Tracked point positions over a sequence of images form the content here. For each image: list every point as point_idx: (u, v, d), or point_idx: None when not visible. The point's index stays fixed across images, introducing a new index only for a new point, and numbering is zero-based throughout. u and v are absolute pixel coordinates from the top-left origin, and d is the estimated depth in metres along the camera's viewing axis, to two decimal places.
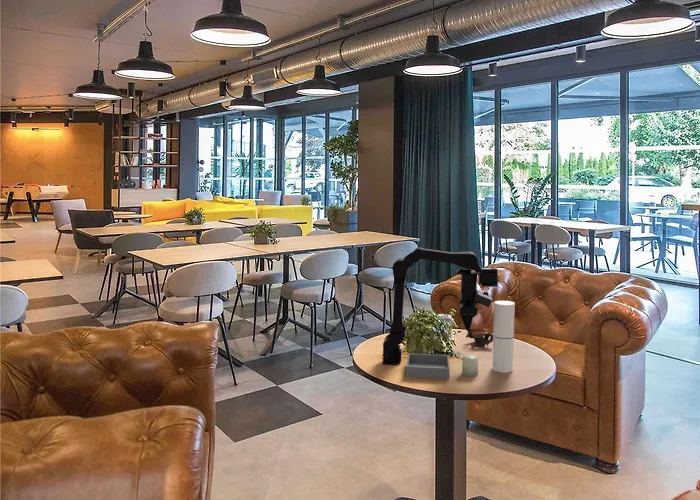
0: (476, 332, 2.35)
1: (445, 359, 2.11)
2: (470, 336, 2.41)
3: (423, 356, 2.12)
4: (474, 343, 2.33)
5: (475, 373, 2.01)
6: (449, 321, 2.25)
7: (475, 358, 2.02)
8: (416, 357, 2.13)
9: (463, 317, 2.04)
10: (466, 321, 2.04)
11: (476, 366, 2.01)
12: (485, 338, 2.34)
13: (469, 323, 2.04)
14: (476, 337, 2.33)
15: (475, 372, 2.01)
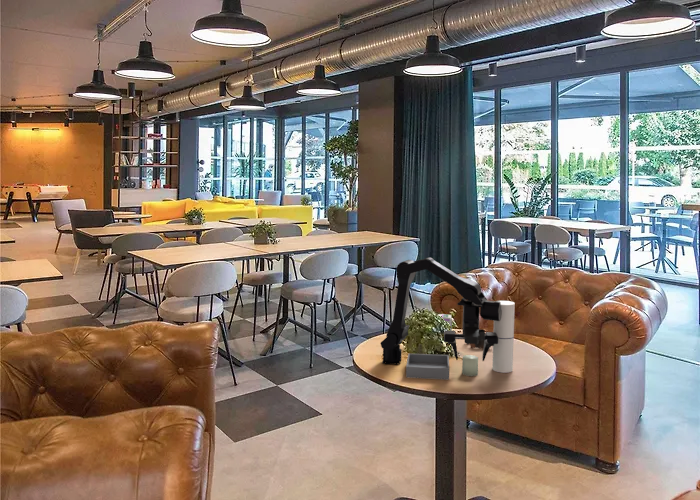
0: None
1: (445, 359, 2.11)
2: None
3: (423, 356, 2.12)
4: None
5: (475, 373, 2.01)
6: (449, 321, 2.25)
7: (475, 358, 2.02)
8: (416, 357, 2.13)
9: None
10: None
11: (476, 366, 2.01)
12: None
13: (454, 351, 2.03)
14: None
15: (475, 372, 2.01)
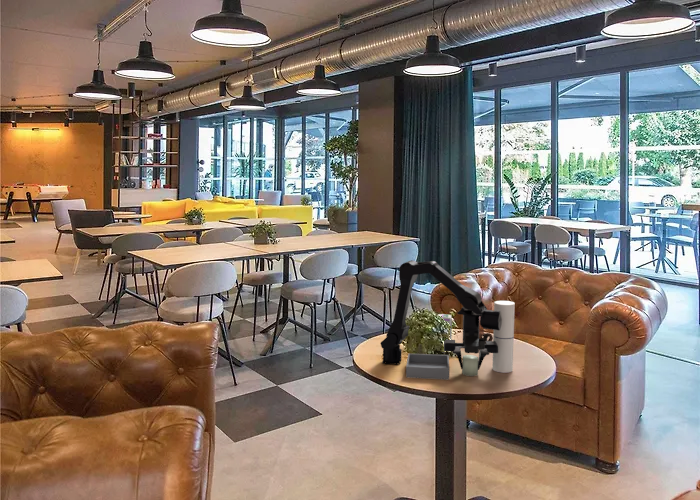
0: None
1: (445, 359, 2.11)
2: None
3: (423, 356, 2.12)
4: None
5: (475, 373, 2.01)
6: (449, 321, 2.25)
7: (475, 358, 2.02)
8: (416, 357, 2.13)
9: None
10: None
11: (476, 366, 2.01)
12: (484, 338, 2.33)
13: None
14: None
15: (475, 371, 2.01)
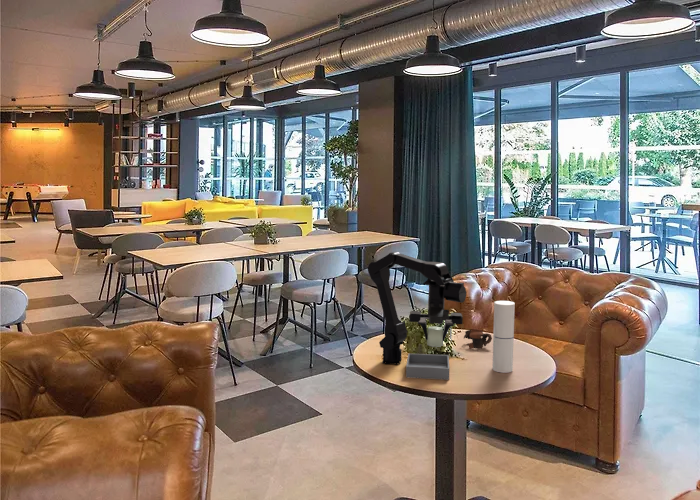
0: (474, 332, 2.34)
1: (445, 359, 2.11)
2: (468, 337, 2.40)
3: (423, 356, 2.12)
4: (472, 344, 2.32)
5: (439, 344, 2.02)
6: None
7: (440, 329, 2.02)
8: (416, 357, 2.13)
9: None
10: None
11: (441, 337, 2.02)
12: (483, 339, 2.33)
13: (424, 332, 2.04)
14: (474, 338, 2.32)
15: (440, 342, 2.02)
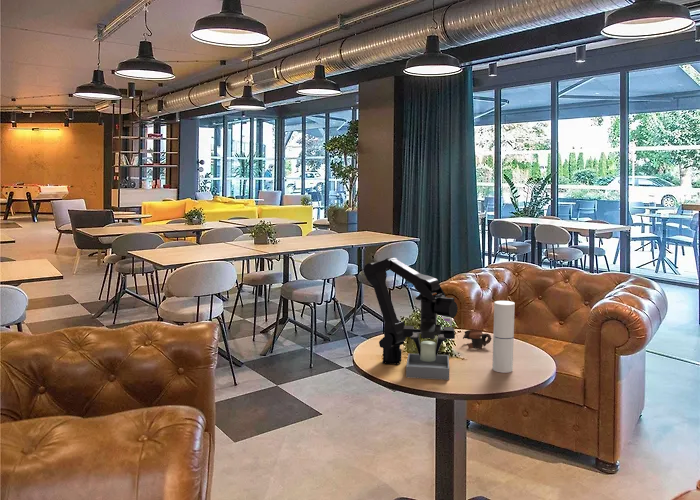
0: (474, 332, 2.34)
1: (445, 359, 2.11)
2: (467, 337, 2.40)
3: None
4: (471, 344, 2.32)
5: (432, 358, 2.03)
6: (449, 321, 2.25)
7: (433, 344, 2.03)
8: (416, 357, 2.13)
9: None
10: None
11: (434, 352, 2.03)
12: (482, 339, 2.33)
13: None
14: (473, 338, 2.32)
15: (432, 357, 2.03)
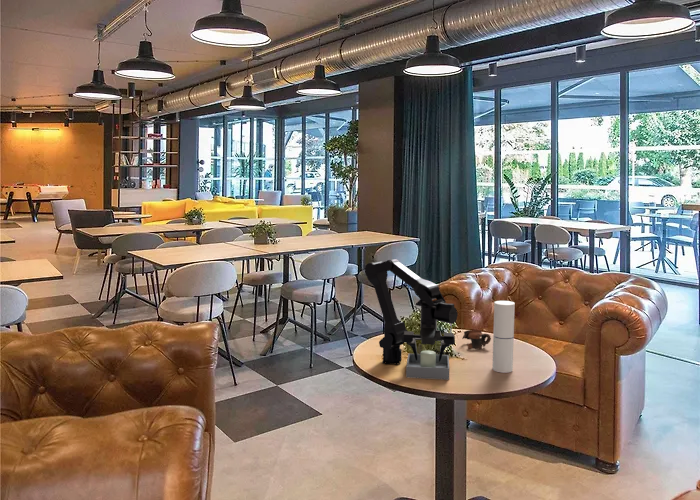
0: (473, 333, 2.33)
1: (445, 359, 2.11)
2: (466, 337, 2.39)
3: None
4: (471, 344, 2.31)
5: None
6: None
7: (432, 353, 2.04)
8: None
9: None
10: None
11: (434, 361, 2.03)
12: (482, 339, 2.32)
13: None
14: (473, 338, 2.32)
15: None
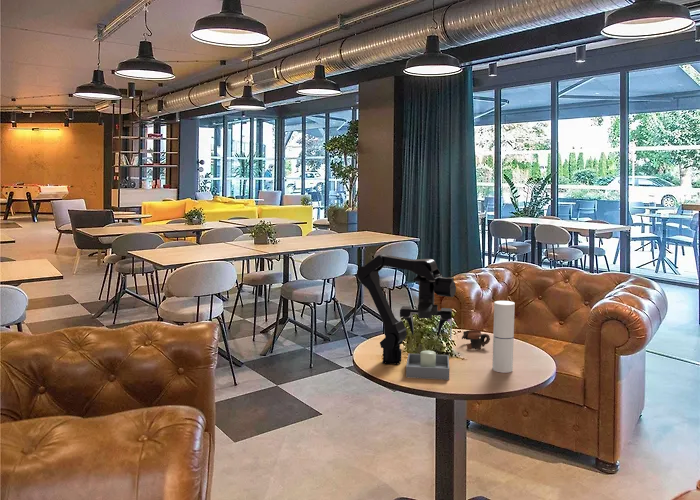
0: (472, 333, 2.33)
1: (445, 359, 2.11)
2: (466, 337, 2.39)
3: None
4: (470, 344, 2.31)
5: None
6: (449, 321, 2.25)
7: (432, 353, 2.04)
8: (416, 357, 2.13)
9: None
10: None
11: (434, 361, 2.03)
12: (481, 339, 2.32)
13: (410, 326, 2.08)
14: (472, 338, 2.31)
15: None
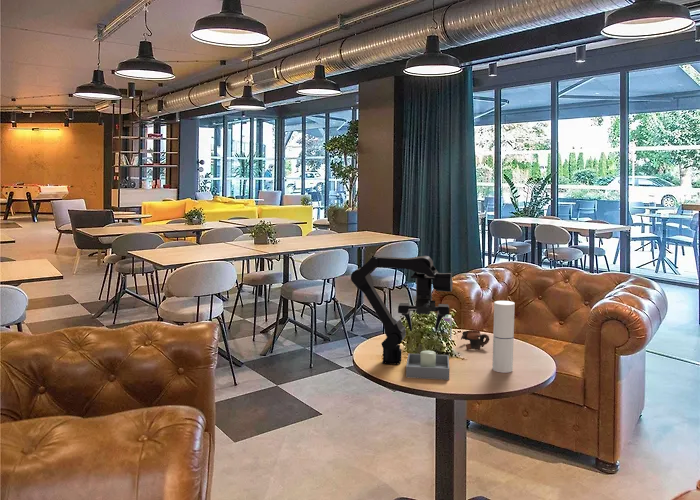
0: (472, 333, 2.33)
1: (445, 359, 2.11)
2: (465, 338, 2.39)
3: None
4: (469, 345, 2.31)
5: None
6: (449, 321, 2.25)
7: (432, 353, 2.04)
8: (416, 357, 2.13)
9: None
10: None
11: (434, 361, 2.03)
12: (480, 340, 2.32)
13: (408, 323, 2.11)
14: (471, 339, 2.31)
15: None
